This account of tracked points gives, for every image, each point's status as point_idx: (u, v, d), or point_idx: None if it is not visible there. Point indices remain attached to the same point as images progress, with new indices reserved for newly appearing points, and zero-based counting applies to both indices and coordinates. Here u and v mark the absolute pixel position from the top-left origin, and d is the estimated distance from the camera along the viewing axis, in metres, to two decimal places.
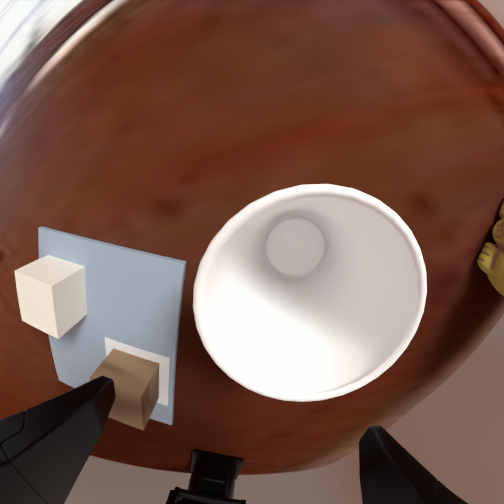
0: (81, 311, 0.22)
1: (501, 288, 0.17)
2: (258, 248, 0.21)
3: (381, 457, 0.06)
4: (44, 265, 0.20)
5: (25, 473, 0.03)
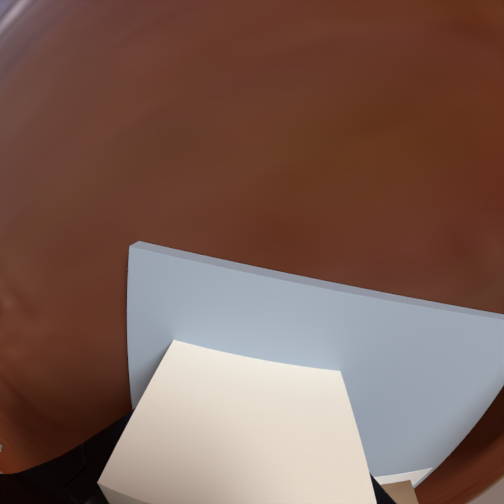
0: None
1: None
2: None
3: None
4: (214, 408, 0.06)
5: None
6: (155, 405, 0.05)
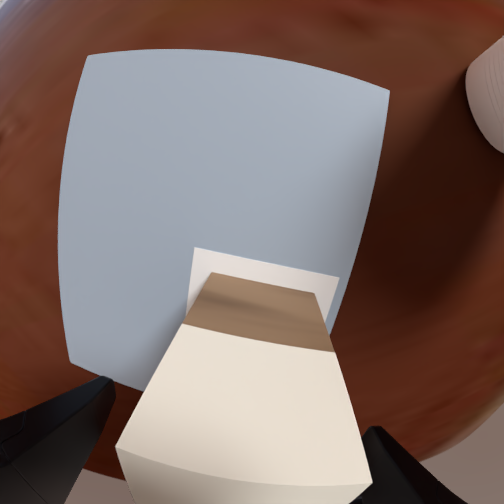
0: None
1: None
2: None
3: (381, 457, 0.06)
4: (220, 381, 0.06)
5: (25, 473, 0.03)
6: (167, 378, 0.06)
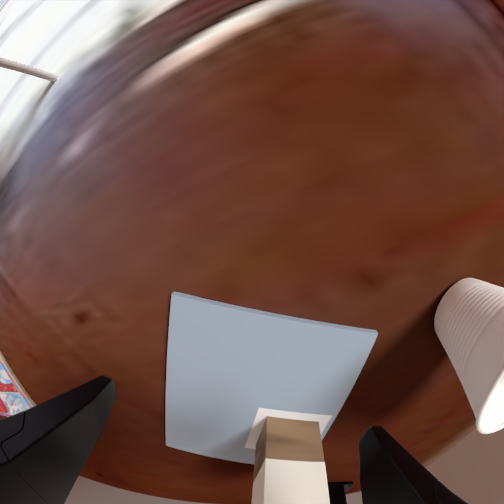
0: None
1: None
2: None
3: (381, 457, 0.06)
4: (285, 481, 0.16)
5: (25, 473, 0.03)
6: (269, 484, 0.15)
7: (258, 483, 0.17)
